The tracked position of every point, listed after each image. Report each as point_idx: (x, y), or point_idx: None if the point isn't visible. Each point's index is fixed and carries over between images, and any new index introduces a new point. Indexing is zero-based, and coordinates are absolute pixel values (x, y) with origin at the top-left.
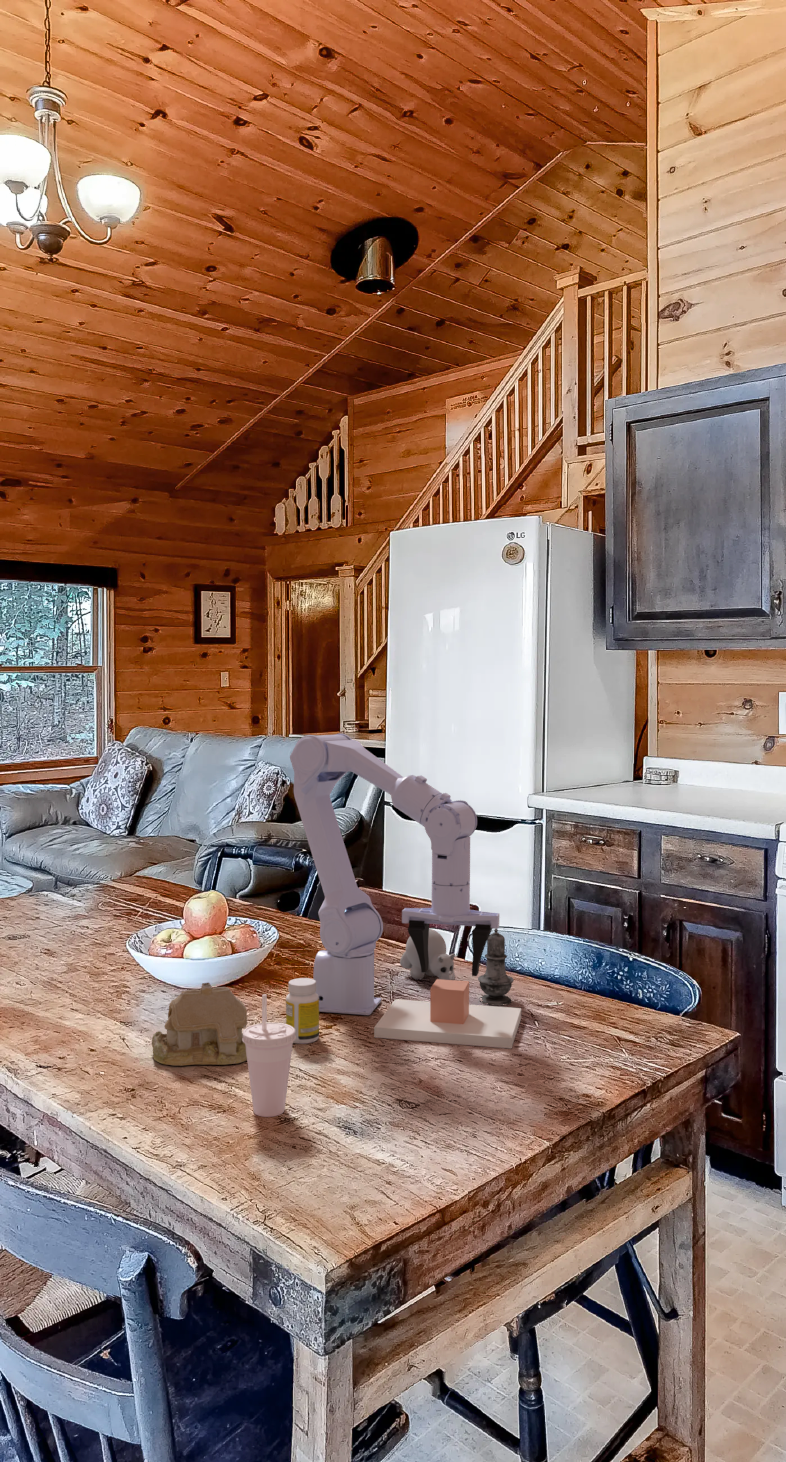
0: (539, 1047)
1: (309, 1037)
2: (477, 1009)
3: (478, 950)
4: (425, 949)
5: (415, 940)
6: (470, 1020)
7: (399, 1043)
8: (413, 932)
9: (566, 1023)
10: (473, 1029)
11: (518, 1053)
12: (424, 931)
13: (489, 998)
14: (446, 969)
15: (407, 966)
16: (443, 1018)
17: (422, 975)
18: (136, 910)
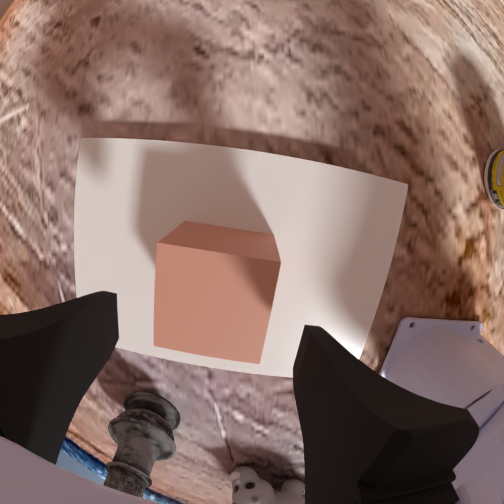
0: (49, 160)
1: (498, 152)
2: None
3: (27, 317)
4: (322, 400)
5: (404, 396)
6: None
7: (342, 144)
8: (447, 417)
9: (26, 298)
10: (159, 182)
11: (82, 117)
12: (358, 463)
13: (159, 413)
14: (244, 486)
15: None
16: (237, 231)
17: (285, 484)
18: None
